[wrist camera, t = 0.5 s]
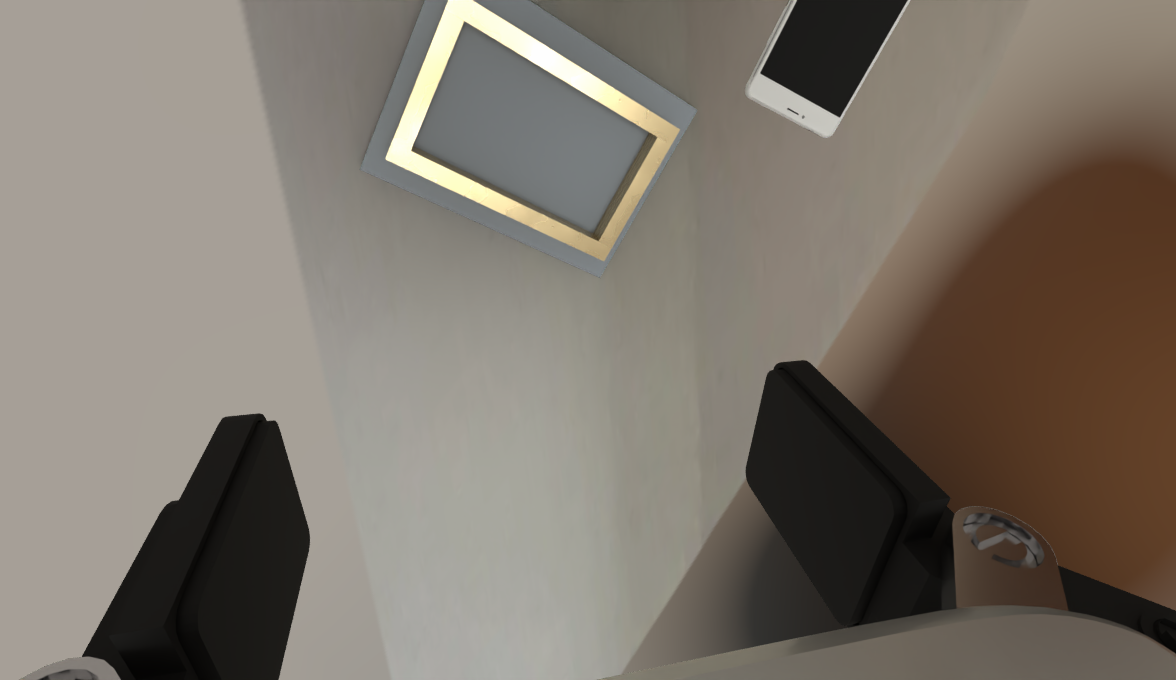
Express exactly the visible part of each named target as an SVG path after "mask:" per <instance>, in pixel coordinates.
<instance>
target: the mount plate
mask: <svg viewBox="0 0 1176 680" xmlns="http://www.w3.org/2000/svg"><path fill="white" fill-rule="evenodd" d="M696 112H697V109H695V108H694V107H692V106H691V105H689V104H688V103H686V102H685V101H683V100H682V99H680V98H678V97H677V96H675V95H674V94H672V93H671V92H669V91H668V90H666V89H665V88H663V87H662V86H660V85H659V84H657V83H655V82H654V81H652V80H651V79H649V78H648V77H646V76H645V75H643V74H642V73H640V72H639V71H637V70H635V69H634V68H632V67H631V66H629V65H628V64H626V63H625V62H623V61H622V60H620V59H619V58H617V57H616V56H614V55H612V54H611V53H609V52H608V51H606V50H605V49H603V48H602V47H600V46H599V45H597V44H596V43H594V42H592V41H591V40H589V39H588V38H586V37H585V36H583V35H582V34H580V33H579V32H577V31H576V30H574V29H573V28H571V27H569V26H568V25H566V24H565V23H563V22H562V21H560V20H559V19H557V18H556V17H554V16H553V15H551V14H549V13H548V12H546V11H545V10H543V9H542V8H540V7H539V6H537V5H536V4H534V3H533V2H531V1H530V0H425V1H424V4H423V6H422V9H421V11H420V14H419V17H418V19H417V22H416V24H415V27H414V30H413V32H412V35H411V37H410V40H409V42H408V45H407V48H406V50H405V53H404V55H403V58H402V61H401V63H400V66H399V68H398V71H397V74H396V76H395V79H394V81H393V84H392V87H391V89H390V92H389V94H388V97H387V100H386V102H385V105H384V107H383V110H382V113H381V115H380V118H379V120H378V123H377V126H376V128H375V131H374V133H373V136H372V139H371V141H370V144H369V146H368V149H367V152H366V154H365V157H364V159H363V162H362V165H361V167H360V170H362V171H364V172H366V173H368V174H371V175H373V176H375V177H377V178H380V179H382V180H384V181H386V182H388V183H391V184H393V185H395V186H397V187H400V188H402V189H404V190H406V191H408V192H411V193H413V194H415V195H417V196H419V197H422V198H424V199H426V200H428V201H431V202H433V203H435V204H437V205H439V206H442V207H444V208H446V209H448V210H451V211H453V212H455V213H457V214H459V215H462V216H464V217H466V218H468V219H470V220H473V221H475V222H477V223H479V224H482V225H484V226H486V227H488V228H490V229H493V230H495V231H497V232H499V233H501V234H504V235H506V236H508V237H510V238H513V239H515V240H517V241H519V242H521V243H524V244H526V245H528V246H530V247H533V248H535V249H537V250H539V251H541V252H544V253H546V254H548V255H550V256H552V257H555V258H557V259H559V260H561V261H564V262H566V263H568V264H570V265H572V266H575V267H577V268H579V269H581V270H584V271H586V272H588V273H590V274H592V275H595V276H597V277H599V278H600V277H601V275H602V273H603V272H604V270H605V268H606V267H607V265H608V263H609V261H610V260H611V258H612V256H613V255H614V253H615V251H616V249H617V248H618V246H619V244H620V243H621V241H622V239H623V237H624V236H625V234H626V232H627V231H628V229H629V227H630V225H631V224H632V222H633V220H634V219H635V217H636V215H637V213H638V212H639V210H640V208H641V206H642V205H643V203H644V201H645V200H646V198H647V196H648V194H649V193H650V191H651V189H652V188H653V186H654V184H655V182H656V181H657V179H658V177H659V176H660V174H661V172H662V170H663V169H664V167H665V165H666V164H667V162H668V160H669V158H670V157H671V155H672V153H673V152H674V150H675V148H676V146H677V145H678V143H679V141H680V140H681V138H682V136H683V134H684V133H685V131H686V129H687V128H688V126H689V124H690V122H691V121H692V119H693V117H694V116H695V114H696Z"/></svg>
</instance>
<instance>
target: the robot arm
mask: <svg viewBox="0 0 1176 680" xmlns="http://www.w3.org/2000/svg"><path fill="white" fill-rule="evenodd" d="M746 478H747V482H748V484H749V486H750V487H751V489H752V491H753V492H754V494H755V495H756V497H757V498H758V500H759V501H760V503H761V505H762V506H763V508H764V509H765V511H766V512H767V514H768V516H769V517H770V519H771V520H772V522H773V523H774V525H775V526H776V528H777V529H778V531H779V532H780V534H781V536H782V537H783V538H784V540H785V542H786V543H787V545H788V546H789V548H790V549H791V551H792V552H793V554H794V556H795V557H796V559H797V560H798V561H799V563H800V565H801V566H802V568H803V569H804V571H805V573H806V574H807V576H808V577H809V579H810V580H811V582H812V583H813V585H814V586H815V588H816V589H817V591H818V593H819V594H820V596H821V597H822V599H823V600H824V602H825V603H826V605H827V606H828V608H829V609H830V611H831V613H832V614H833V616H834V617H835V618H836V620H837V621H838V622H839V623H840V624H841V625H844V626H846V625H847V626H848V628H845V629H840V630H835V631H830V632H825V633H821V634H815V635H811V636H806V637H801V638H796V639H791V640H786V641H781V642H776V643H771V644H767V645H761V646H757V647H752V648H747V649H742V650H737V651H732V652H727V653H722V654H718V655H713V656H709V657H704V658H699V659H694V660H689V661H685V662H680V663H675V664H670V665H665V666H660V667H656V668H651V669H646V670H641V671H636V672H632V673H627V674H622V675H617V676H613V677H608V678H603V679H598V680H1176V611H1175V610H1172V609H1170V608H1167V607H1165V606H1162V605H1159V604H1157V603H1154V602H1152V601H1149V600H1146V599H1144V598H1141V597H1139V596H1136V595H1133V594H1130V593H1128V592H1126V591H1123V590H1120V589H1118V588H1115V587H1113V586H1110V585H1107V584H1105V583H1102V582H1099V581H1097V580H1094V579H1091V578H1089V577H1087V576H1084V575H1081V574H1079V573H1076V572H1073V571H1071V570H1068V569H1066V568H1063V567H1061V566H1058V564H1057V560H1056V557H1055V555H1054V552H1053V550H1052V548H1051V546H1050V545H1049V544H1048V543H1047V541H1046V540H1045V539H1044V538H1043V537H1042V536H1041V535H1040V534H1039V533H1038V532H1036V531H1035V530H1034V529H1033V528H1032V527H1030V526H1029V525H1028V524H1026V523H1024V522H1022V521H1021V520H1019V519H1017V518H1015V517H1013V516H1011V515H1009V514H1006V513H1003V512H1001V511H999V510H995V509H991V508H986V507H967V508H963V509H960V510H959V511H958V512H957V513H956V514H954V513H953V512H952V511H951V510H950V509H949V508H948V507H947V504H948V502H949V500H950V497H949V496H948V495H947V494H946V493H945V492H944V491H943V490H942V489H941V488H940V487H939V486H938V485H937V484H936V483H934V482H933V481H932V480H931V479H930V478H929V477H928V476H927V475H926V474H925V473H924V472H923V471H922V470H921V469H920V468H919V467H917V465H916V464H915V463H914V462H913V461H911V459H909V458H908V457H907V456H906V455H905V454H904V453H903V452H902V451H901V450H900V449H899V448H898V447H897V446H896V445H895V444H894V443H893V442H892V441H891V440H890V439H889V438H888V437H887V436H885V435H884V434H883V433H882V432H881V431H880V430H879V429H878V428H877V427H876V426H875V425H874V424H873V423H872V422H871V421H870V420H869V419H868V418H867V417H866V416H865V415H864V414H863V413H862V412H860V411H859V410H858V409H857V408H856V407H855V406H854V405H853V404H852V403H851V402H850V401H849V400H848V399H847V398H846V397H845V396H844V395H843V394H842V393H841V392H840V391H839V390H838V389H836V387H834V386H833V385H832V384H831V383H830V382H829V381H828V380H827V379H826V378H825V377H824V376H823V375H822V374H821V373H820V372H819V371H818V370H817V369H816V368H815V367H814V366H813V365H812V364H811V363H809V362H808V361H804V360H801V361H791V362H781V363H778V364H776V366H775V367H774V369H773V370H771V371H769V373H768V374H767V377H766V381H765V385H764V390H763V394H762V399H761V403H760V408H759V412H758V416H757V421H756V425H755V430H754V434H753V438H752V443H751V447H750V452H749V456H748V461H747V465H746ZM309 545H310V534H309V528H308V525H307V521H306V518H305V514H304V511H303V507H302V504H301V501H300V497H299V494H298V491H297V487H296V484H295V480H294V477H293V473H292V470H291V467H290V463H289V460H288V456H287V453H286V450H285V446H284V443H283V439H282V436H281V432H280V429H279V426H278V424H277V422H276V421H266V418H265V417H264V415H263V414H249V415H239V416H229V417H224V418H223V419H222V420H221V422H220V423H219V425H218V426H217V428H216V431H215V432H214V434H213V436H212V438H211V440H210V442H209V444H208V446H207V448H206V450H205V452H204V454H203V455H202V457H201V459H200V461H199V463H198V465H197V467H196V469H195V471H194V472H193V474H192V476H191V478H190V480H189V482H188V484H187V486H186V488H185V490H184V492H183V494H182V495H181V498H180V499H179V500H178V501H172V502H170V503H169V504H167V505H166V506H165V507H164V509H163V510H162V511H161V513H160V514H159V516H158V518H157V520H156V522H155V524H154V525H153V527H152V529H151V531H150V533H149V534H148V536H147V538H146V540H145V542H144V544H143V546H142V548H141V549H140V551H139V553H138V555H137V557H136V558H135V560H134V562H133V564H132V566H131V567H130V569H129V571H128V573H127V575H126V577H125V578H124V580H123V582H122V584H121V586H120V588H119V589H118V591H117V593H116V595H115V597H114V599H113V601H112V602H111V604H110V606H109V608H108V610H107V612H106V614H105V615H104V617H103V619H102V621H101V622H100V624H99V626H98V628H97V630H96V632H95V633H94V635H93V637H92V639H91V641H90V643H89V644H88V646H87V648H86V650H85V652H84V654H83V655H82V657H79V658H69V659H66V660H62V661H59V662H56V663H53V664H50V665H47V666H44V667H42V668H40V669H38V670H37V671H35V672H33V673H31V674H29V675H27V676H25V677H23V678H21V679H20V680H278V679H279V675H280V671H281V666H282V662H283V658H284V653H285V650H286V645H287V641H288V637H289V633H290V628H291V624H292V620H293V616H294V611H295V607H296V603H297V599H298V594H299V590H300V586H301V581H302V577H303V573H304V569H305V565H306V561H307V556H308V552H309Z"/></svg>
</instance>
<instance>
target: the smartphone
mask: <svg viewBox="0 0 1176 680" xmlns="http://www.w3.org/2000/svg"><path fill="white" fill-rule="evenodd" d="M910 1H911V0H789V2H788V4H787V6H786V7H785V8H784V10H783V12H782V14H781V16H780V18H779V20H778V22H777V24H776V26H775V28H774V30H773V32H772V34H771V36H770V38H769V40H768V42H767V45H766V47H765V49H764V51H763V53H762V55H761V57H760V59H759V61H758V63H757V65H756V67H755V69H754V71H753V73H752V75H751V77H750V79H749V81H748V83H747V85H746V87H745V94H746V96H747V97H748V98H749V99H750V100H752V101H754V102H756V103H758V104H760V105H762V106H764V107H766V108H767V109H769V110H771V111H773V112H775V113H777V114H779V115H781V116H783V117H784V118H786V119H788V120H790V121H792V122H794V123H796V124H798V125H800V126H801V127H803V128H805V129H807V130H809V131H811V132H813V133H815V134H817V135H819V136H820V137H822V138H823V137H824V138H828V137H830V136H832V135H833V133H834V132H835V130H836V128H837V126H838V125H839V123H840V121H841V120H842V118H843V116H844V114H845V113H846V111H847V109H848V108H849V106H850V104H851V102H852V101H853V99H854V97H855V95H856V94H857V92H858V90H859V89H860V87H861V85H862V83H863V82H864V80H865V78H866V76H867V75H868V73H869V71H870V70H871V68H872V66H873V64H874V63H875V61H876V59H877V57H878V56H879V54H880V52H881V51H882V49H883V47H884V45H885V44H886V42H887V40H888V38H889V37H890V35H891V33H892V32H893V30H894V28H895V26H896V25H897V23H898V21H899V20H900V18H901V16H902V14H903V13H904V11H905V9H906V7H907V6H908V4H909V2H910Z"/></svg>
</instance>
